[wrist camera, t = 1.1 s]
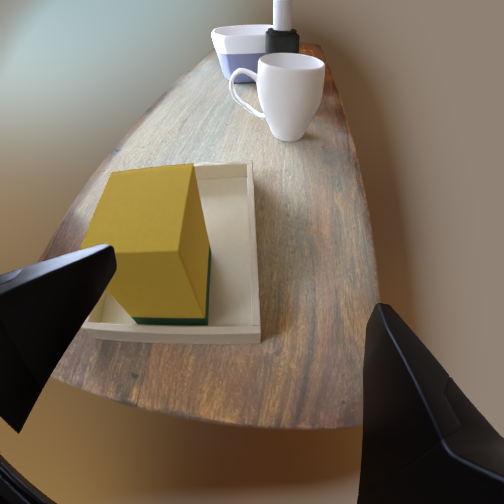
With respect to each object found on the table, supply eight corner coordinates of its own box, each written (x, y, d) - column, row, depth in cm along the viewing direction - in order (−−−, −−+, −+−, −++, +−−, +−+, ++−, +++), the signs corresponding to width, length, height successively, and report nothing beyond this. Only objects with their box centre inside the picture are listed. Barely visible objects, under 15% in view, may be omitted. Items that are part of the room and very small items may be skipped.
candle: (296, 103, 45) (303, -31, 24) (267, 103, 45) (268, -34, 24) (291, 92, 48) (296, -30, 27) (264, 92, 48) (264, -32, 27)
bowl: (295, 84, 51) (298, 34, 41) (219, 90, 49) (215, 38, 40) (273, 63, 59) (274, 23, 50) (211, 69, 57) (207, 27, 48)
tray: (260, 343, 22) (260, 333, 19) (95, 338, 21) (81, 328, 19) (252, 177, 33) (252, 160, 31) (136, 185, 33) (130, 169, 31)
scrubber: (208, 325, 22) (178, 250, 14) (137, 324, 22) (77, 254, 14) (211, 252, 26) (193, 162, 18) (149, 254, 26) (111, 171, 18)
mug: (313, 122, 41) (320, 55, 31) (319, 151, 36) (331, 73, 26) (235, 119, 41) (231, 51, 32) (228, 148, 36) (222, 68, 27)
